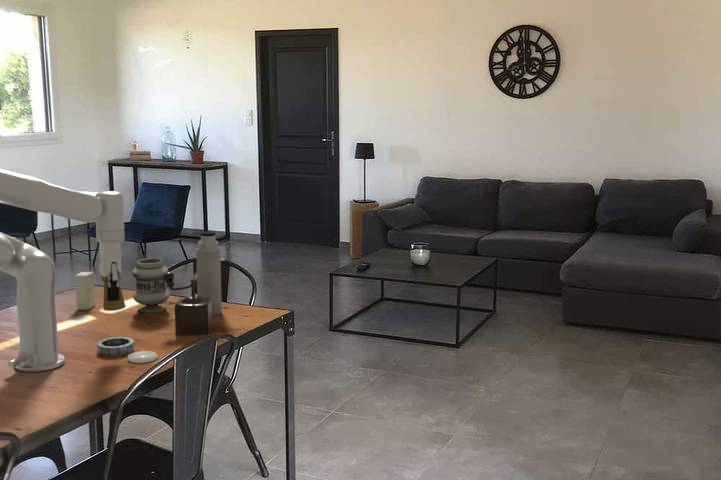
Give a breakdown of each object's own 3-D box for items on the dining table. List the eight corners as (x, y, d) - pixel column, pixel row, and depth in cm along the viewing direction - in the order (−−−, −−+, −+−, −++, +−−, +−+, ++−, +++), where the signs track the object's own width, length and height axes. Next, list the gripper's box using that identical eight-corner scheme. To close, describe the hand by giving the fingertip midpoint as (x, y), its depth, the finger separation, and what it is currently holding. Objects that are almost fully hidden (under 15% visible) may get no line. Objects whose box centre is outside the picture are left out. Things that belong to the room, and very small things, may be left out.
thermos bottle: (209, 308, 264) (207, 229, 259) (226, 311, 260) (225, 231, 255) (193, 313, 258) (190, 232, 253) (210, 317, 254) (208, 235, 249)
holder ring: (120, 357, 212) (119, 349, 212) (90, 353, 215) (90, 345, 215) (140, 347, 222) (140, 339, 221) (112, 343, 225) (112, 335, 224)
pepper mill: (213, 324, 245) (212, 270, 242) (208, 335, 234) (207, 278, 231) (165, 324, 244) (163, 270, 241) (157, 335, 234) (155, 278, 230)
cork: (107, 312, 212) (103, 274, 210) (100, 307, 217) (96, 270, 215) (128, 307, 216) (124, 270, 213) (121, 303, 220) (117, 266, 218)
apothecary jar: (126, 313, 256) (123, 261, 253) (148, 305, 267) (147, 255, 264) (155, 318, 252) (153, 265, 248) (177, 309, 262) (175, 258, 259)
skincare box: (89, 310, 260) (87, 275, 258) (76, 309, 260) (74, 275, 258) (95, 305, 266) (94, 271, 264) (83, 305, 266) (81, 271, 264)
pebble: (146, 364, 207) (146, 361, 207) (121, 361, 210) (121, 358, 210) (162, 355, 215) (162, 353, 215) (138, 352, 217) (138, 349, 217)
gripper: (92, 231, 218) (94, 293, 221) (100, 241, 203) (102, 307, 206) (119, 230, 221) (120, 291, 224) (129, 239, 207) (130, 304, 210)
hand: (112, 298), depth 215 cm, fingers closed on cork, 4 cm apart
